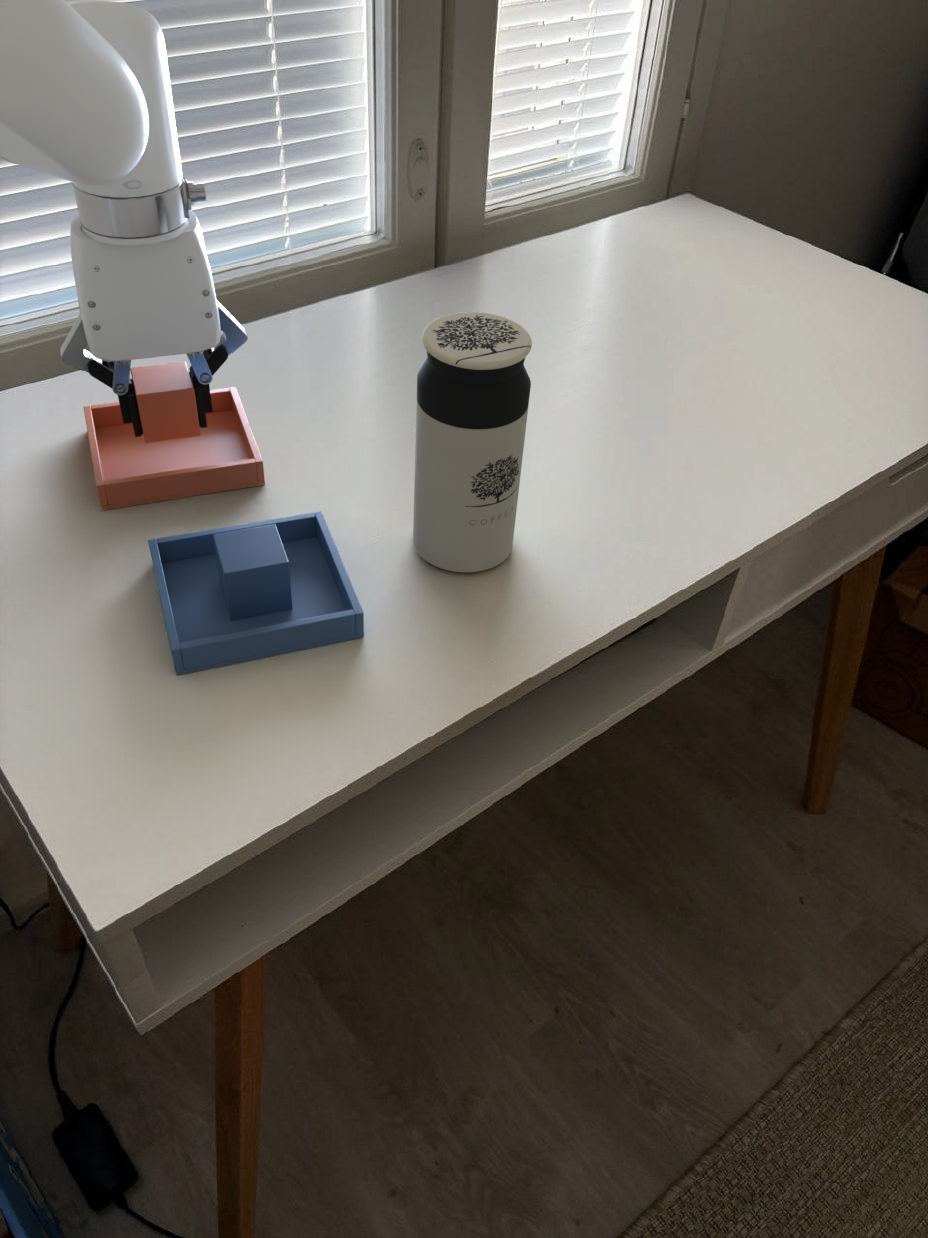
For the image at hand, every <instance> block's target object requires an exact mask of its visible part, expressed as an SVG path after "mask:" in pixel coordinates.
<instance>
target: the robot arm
mask: <svg viewBox="0 0 928 1238" xmlns="http://www.w3.org/2000/svg"><path fill="white" fill-rule="evenodd" d="M174 108H175V107H174V101H173V93H172V85H171V78H170V70H169V62H168V55H167V48H166V42H165V37H164V33H163V30H162V27H161V25H160V23H159V22H158V20H157V18H156V17H155V16H154V15H153V14H152V13H150V12H149V11H148V10H146V9H145V8H142V7H140V6H137V5H135V4H130V3H127V2H122V1H121V2H119V1H109V0H108V1H107V0H92V1H91V0H89V1H80V2H79V1H78V2H74V3H73V2H72V3H68V2H67V1H66V0H0V160H2V161H5V162H8V163H11V164H14V165H19V166H23V167H26V168H29V169H32V170H34V171H38V172H41V173H44V174H47V175H51V176H53V177H56V178H59V179H62V180H65V181H68V182H71V183H72V188H73V192H74V197H75V202H76V207H77V212H78V216H77V217H75V218H74V219H73V220H71V222H70V233H69V235H70V238H69V239H70V255H71V264H72V271H73V279H74V285H75V290H76V296H77V297H76V298H77V303H78V308H79V314H78V316H77V318H76V320H75V321H74V323H73V325H72V327H71V328H70V330H69V332H68V334H67V336H66V338H65V340H64V341H63V342H62V345H61V346H60V349H59V352H60V358H61V361H62V362H63V363H64V364H65V365H68V366H71V367H73V368H75V369H78V370H80V371H82V372H86V373H87V374H89V375H90V376H91V377H93V378H94V379H95V380H97V381H99V382H101V383H102V384H103V385H105V386H107V387H108V388H110V389H112V392H113V393H114V394H115V395H117V399H118V402H119V404H120V409H121V414H122V419H123V423H124V424H126V423H132V424H133V429H134V433H135V437H140V436H142V434H143V429H142V424H141V419H140V414H139V408H138V403H137V398H136V393H135V389H134V385H133V380H132V378H131V371H130V368H131V365H132V361H135V360H145V359H152V358H153V359H154V358H162V357H168V356H178V355H186V356H187V358H188V361H189V363H190V366H189V368H188V371H189V374H190V377H191V380H192V384H193V387H194V392H195V399H196V406H197V413H198V420H199V426H200V427H201V428H205V427H207V422H206V414H205V413H208V412H213V409H212V402H211V394H210V390H211V388H210V384H211V383H212V382H213V377H214V375H216V373H217V371H219V369H220V368H221V367H222V366H223V365H224V364H225V362H227V360H228V358H229V356H230V355H231V354H234V353H235V352H236V351H237V350H239V349H240V348H241V347H242V346H243V345H244V344H245V343H246V342H248V338H249V337H248V335H247V332H246V329H245V327H244V326H243V325H242V323H240V322H239V321H238V320H237V319H236V318H235V317H234V316H233V315H232V314H231V313H230V312H229V311H228V310H227V309H226V307H224V306H223V305H222V303H220V302H219V300H218V299H217V295H216V289H215V283H214V278H213V272H212V268H211V264H210V259H209V255H208V252H207V248H206V243H205V238H204V235H203V232H202V227H201V225H200V222H199V218H198V217H197V214H196V213H195V212H193V211H192V206H197V204H201V203H202V204H204V203H207V192H206V187H205V184H204V182H196V183H194V182H193V181H188V180H187V177H183V170H182V162H181V154H180V147H179V139H178V132H177V131H178V130H177V126H176V118H175V117H176V115H175V111H174V110H175V109H174ZM87 346H88V348H89V350H86V347H87Z"/></svg>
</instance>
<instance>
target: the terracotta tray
mask: <svg viewBox="0 0 928 1238" xmlns="http://www.w3.org/2000/svg"><path fill="white" fill-rule="evenodd" d="M210 394H211V402H212V409H213V412H208V413H205V414H206V422H207V427H205V428H201V427H200V433H201V435H200V436H193V437H186V438H179V439H172V440H165V441H158V442H151V443H145V440H144V435H143V434H142V436H140V437H135V433H134V429H133V424H132V423H126V424H124V423H123V419H122V414H121V409H120V404H119V401H116V402H107V403H99V404H91V405H85V406H83V414H84V419H85V425H86V431H87V438H88V444H89V451H90V457H91V462H92V468H93V475H94V481H95V487H96V491H97V495H98V496H97V497H98V499H99V500H98V501H99V504H100V508H101V511H105V510H106V511H107V510H112V509H113V510H114V509H119V508H126V507H131V506H138V505H144V504H145V505H146V504H152V503H158V502H163V501H170V500H178V499H185V498H189V497H196V496H202V495H208V494H217V493H222V492H227V491H228V492H229V491H235V490H239V489H240V490H241V489H247V488H255V487H260V486H265V485H266V481H265V468H264V461H263V458H262V456H261V452H260V449H259V446H258V443H257V441H256V439H255V436H254V433H253V431H252V428H251V426H250V422H249V419H248V417H247V414H246V412H245V409H244V406H243V403H242V401H241V398H240V395H239V393H238V390H237V387H236V386H234V387H233V386H232V387H224V388H216V389H210Z"/></svg>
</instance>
